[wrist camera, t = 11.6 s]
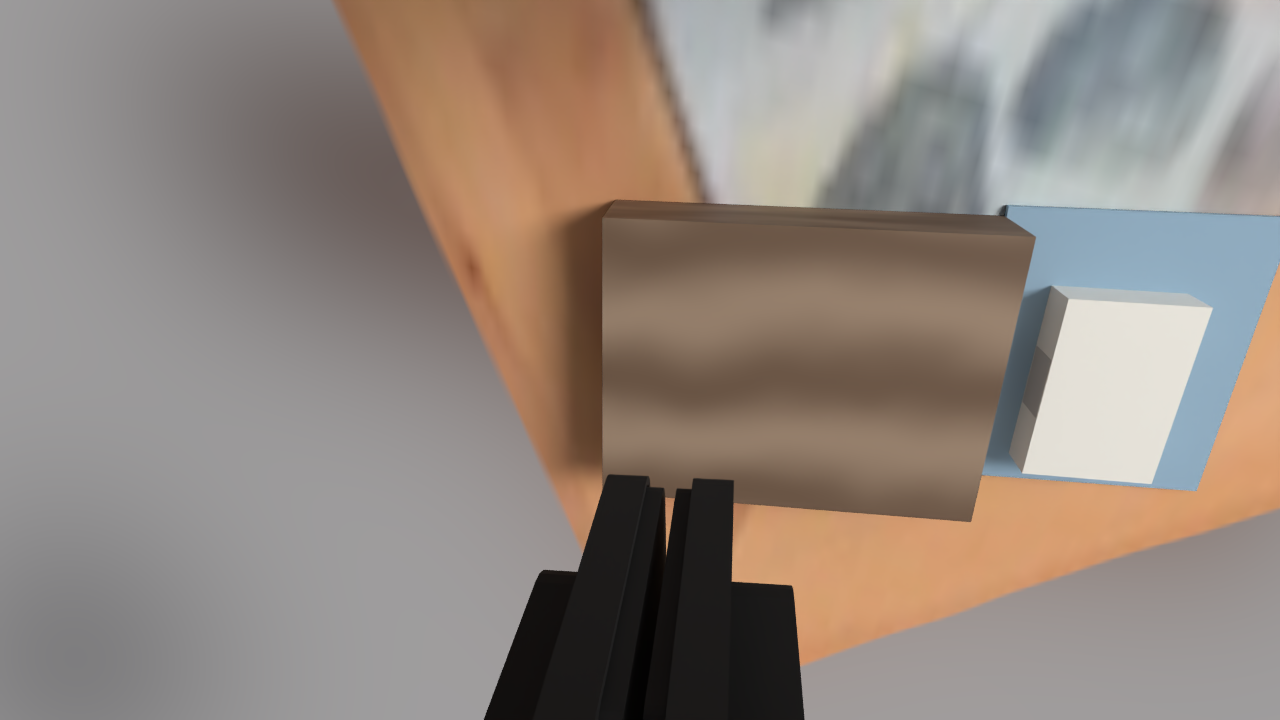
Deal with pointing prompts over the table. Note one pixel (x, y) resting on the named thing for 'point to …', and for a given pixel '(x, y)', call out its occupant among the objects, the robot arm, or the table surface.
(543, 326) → the table surface
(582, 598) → the robot arm
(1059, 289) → the off-white flat slab
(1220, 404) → the mat
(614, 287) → the brown wooden block
